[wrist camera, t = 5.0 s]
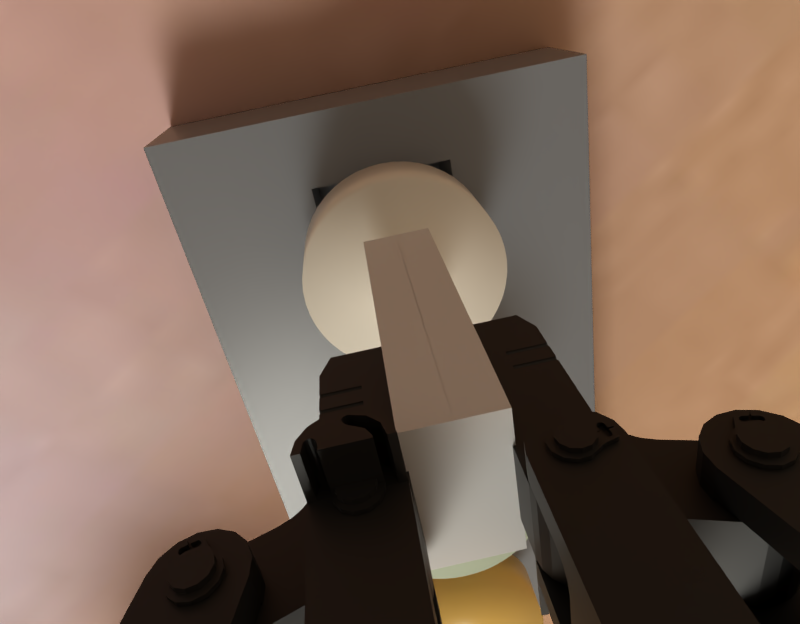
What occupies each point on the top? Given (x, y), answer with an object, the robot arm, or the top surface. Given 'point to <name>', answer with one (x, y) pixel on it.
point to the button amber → (489, 596)
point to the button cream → (386, 216)
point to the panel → (353, 151)
